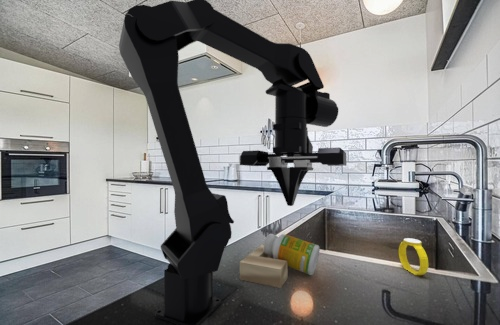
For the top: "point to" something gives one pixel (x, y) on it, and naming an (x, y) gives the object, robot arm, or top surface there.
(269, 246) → the supplement bottle
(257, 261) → the beige c-shaped block
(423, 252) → the watch
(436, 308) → the top surface
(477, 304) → the top surface
